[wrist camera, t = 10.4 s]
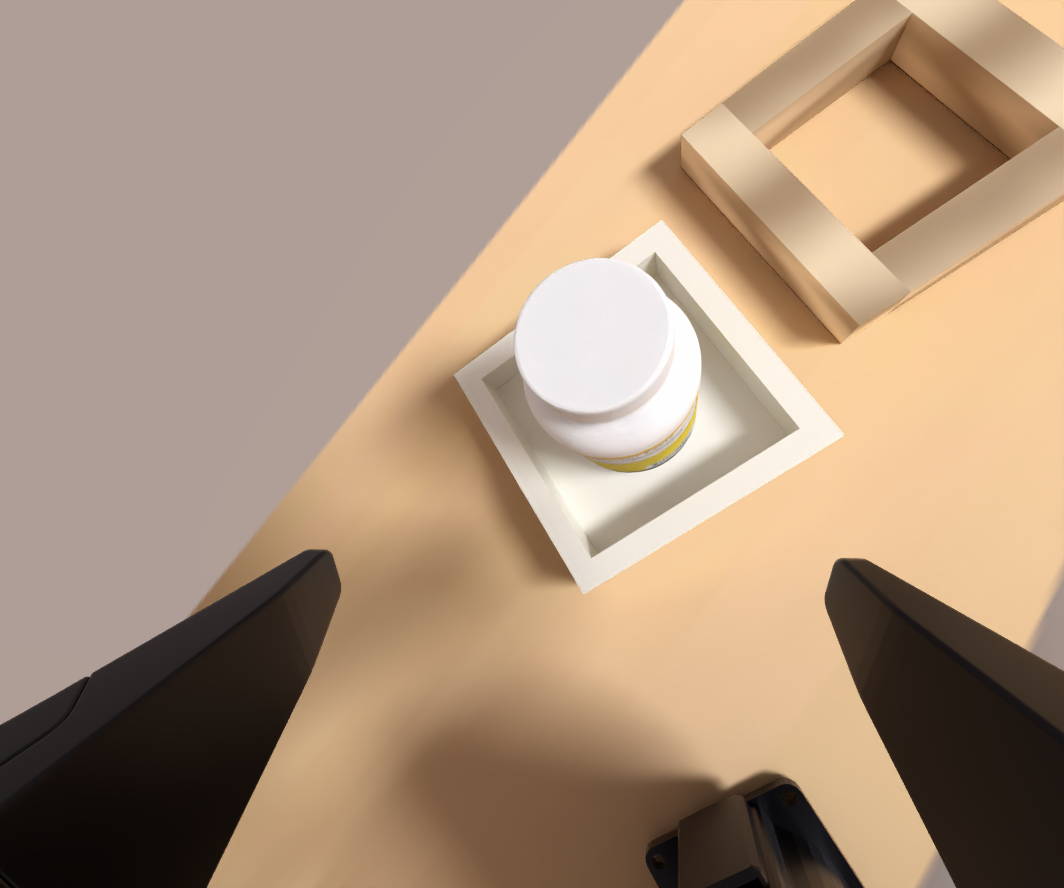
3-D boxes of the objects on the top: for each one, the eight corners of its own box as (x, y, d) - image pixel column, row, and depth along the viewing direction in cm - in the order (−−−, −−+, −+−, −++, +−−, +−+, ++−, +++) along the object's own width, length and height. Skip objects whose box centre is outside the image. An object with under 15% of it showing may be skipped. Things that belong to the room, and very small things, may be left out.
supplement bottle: (575, 353, 22) (499, 235, 13) (699, 354, 20) (717, 217, 11) (564, 470, 21) (476, 436, 12) (691, 480, 20) (704, 449, 10)
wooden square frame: (1116, 166, 17) (1169, 123, 15) (841, 343, 19) (859, 325, 17) (900, 0, 20) (923, -53, 19) (681, 167, 22) (681, 134, 20)
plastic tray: (823, 445, 19) (844, 435, 16) (594, 585, 21) (583, 594, 18) (663, 251, 22) (661, 219, 20) (475, 388, 24) (453, 374, 21)
